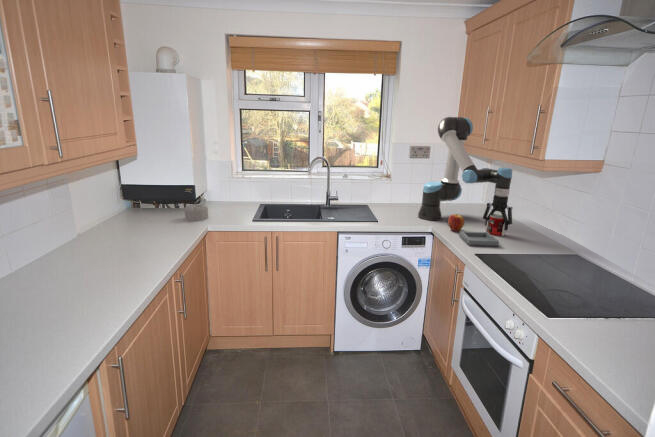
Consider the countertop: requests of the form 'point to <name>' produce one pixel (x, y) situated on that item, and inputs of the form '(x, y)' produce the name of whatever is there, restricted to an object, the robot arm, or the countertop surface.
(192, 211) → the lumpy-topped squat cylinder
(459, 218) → the apple
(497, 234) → the canned food
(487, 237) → the tray
